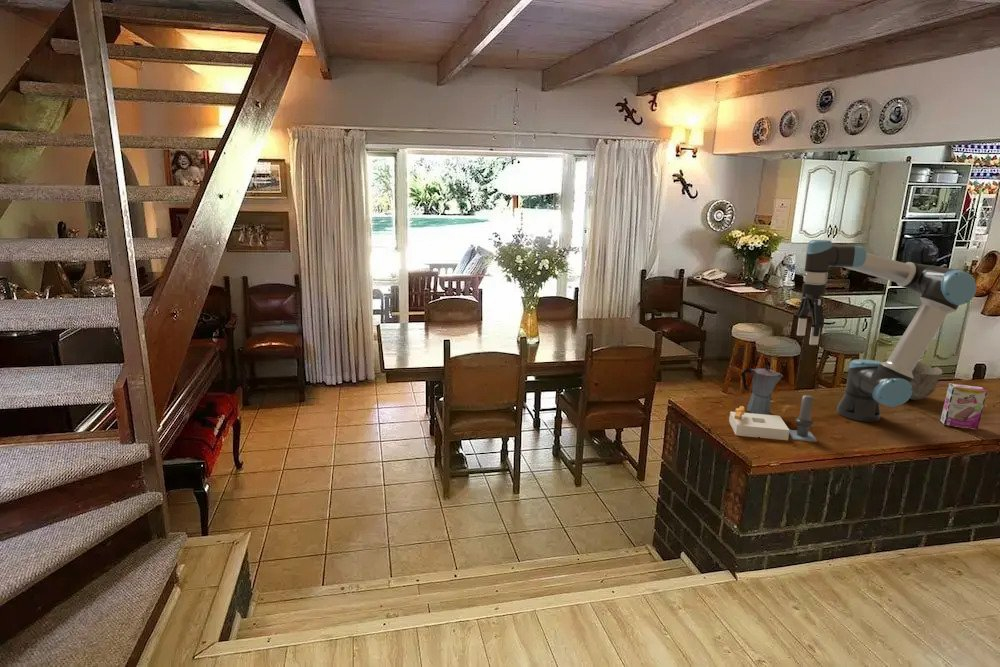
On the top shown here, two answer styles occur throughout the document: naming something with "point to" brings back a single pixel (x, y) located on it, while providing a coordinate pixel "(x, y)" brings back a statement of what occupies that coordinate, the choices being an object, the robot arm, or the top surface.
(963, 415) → the candy bar box
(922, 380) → the bowl
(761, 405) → the moka pot
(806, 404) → the plug
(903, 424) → the top surface
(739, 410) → the orange bar with knob
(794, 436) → the pad
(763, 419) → the socket board
